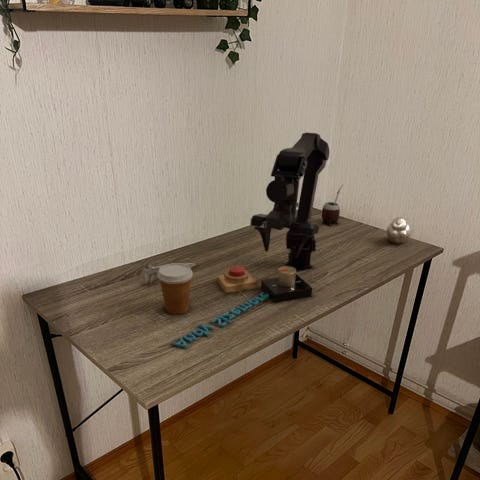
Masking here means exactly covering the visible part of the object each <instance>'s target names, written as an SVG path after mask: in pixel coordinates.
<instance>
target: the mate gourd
mask: <svg viewBox="0 0 480 480" xmlns="http://www.w3.org/2000/svg"><path fill="white" fill-rule="evenodd" d="M343 186H344V183H343V184H341V186H340V187H338V190H337V192H336V195H335V200H334V202H333V201H329V202H325V203H324V204H323V206H322V208H321V224H328V226H329V227H330V226H331V225H338V220H339V218H340V212H341V209H340V205H339V203H337V201H338V197H339V194H340V191H341V189H342V188H343Z"/></svg>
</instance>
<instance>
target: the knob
mask: <svg viewBox="0 0 480 480" xmlns="http://www.w3.org/2000/svg"><path fill="white" fill-rule="evenodd" d="M296 274H297V271H296V269H295V268H293V267H290V266H289V265H285V266H284V265H283V266H281V267H279V268H278V270H277V277H278V285H279V286H281V287H286V288H288V287H293V286H294V285H295V280H296Z"/></svg>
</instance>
